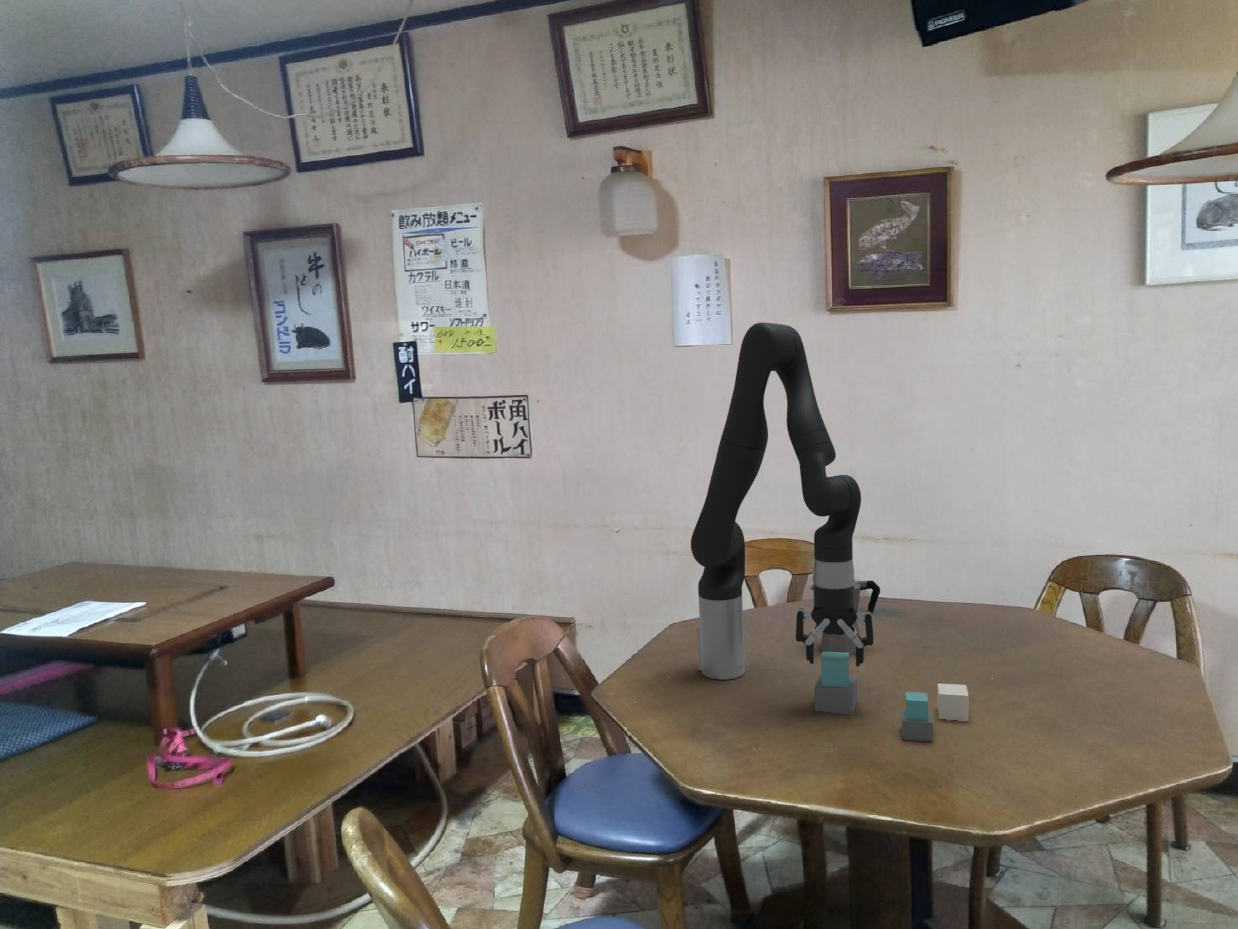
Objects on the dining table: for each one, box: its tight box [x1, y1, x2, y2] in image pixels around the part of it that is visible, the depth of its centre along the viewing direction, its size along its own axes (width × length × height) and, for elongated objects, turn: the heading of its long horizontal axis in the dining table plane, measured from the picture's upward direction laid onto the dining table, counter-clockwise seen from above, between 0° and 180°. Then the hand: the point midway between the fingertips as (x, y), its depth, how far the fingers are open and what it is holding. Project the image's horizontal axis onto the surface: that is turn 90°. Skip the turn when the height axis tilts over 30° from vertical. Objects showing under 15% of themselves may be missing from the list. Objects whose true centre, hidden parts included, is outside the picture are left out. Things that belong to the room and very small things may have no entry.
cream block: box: [937, 683, 970, 722], centre depth 163 cm, size 5×5×5 cm
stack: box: [901, 691, 934, 742], centre depth 155 cm, size 5×5×7 cm
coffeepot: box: [809, 580, 881, 656], centre depth 198 cm, size 15×9×18 cm, turn 87°
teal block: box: [820, 651, 850, 688], centre depth 168 cm, size 5×5×5 cm
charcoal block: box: [813, 673, 858, 716], centre depth 169 cm, size 7×7×5 cm
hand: (834, 663), depth 168 cm, fingers open, 8 cm apart
